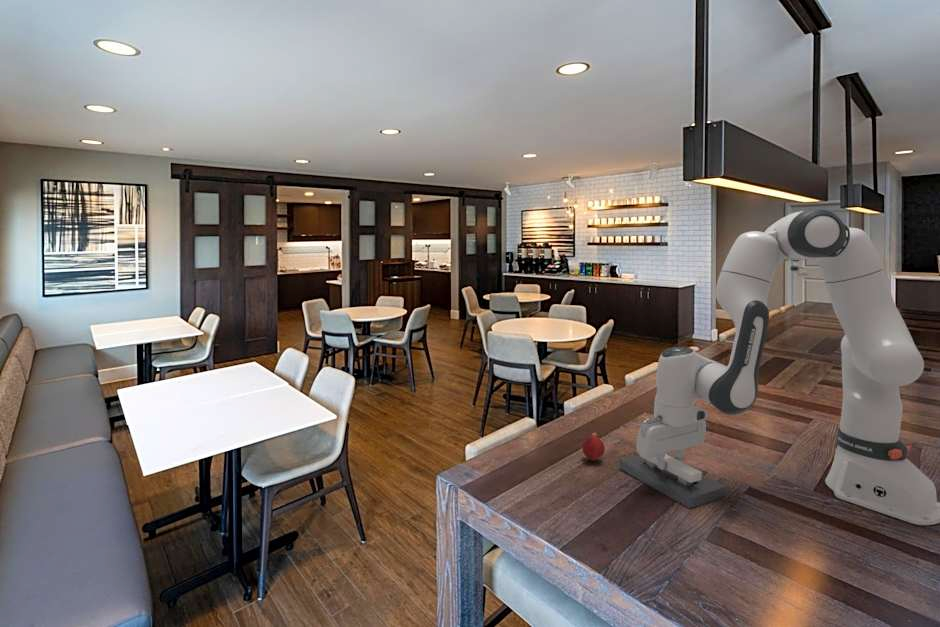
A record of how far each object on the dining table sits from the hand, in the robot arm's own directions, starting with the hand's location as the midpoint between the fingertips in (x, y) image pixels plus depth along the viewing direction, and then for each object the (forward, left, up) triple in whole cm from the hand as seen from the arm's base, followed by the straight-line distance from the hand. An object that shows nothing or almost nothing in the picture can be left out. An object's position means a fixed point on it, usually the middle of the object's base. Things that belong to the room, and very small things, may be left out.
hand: (669, 466), depth 125 cm
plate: (0, 0, -4) cm, 4 cm away
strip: (0, 0, -2) cm, 2 cm away
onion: (+18, +9, -4) cm, 20 cm away
